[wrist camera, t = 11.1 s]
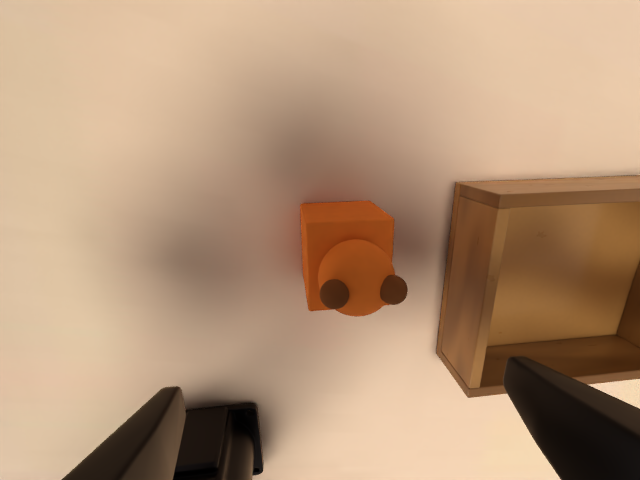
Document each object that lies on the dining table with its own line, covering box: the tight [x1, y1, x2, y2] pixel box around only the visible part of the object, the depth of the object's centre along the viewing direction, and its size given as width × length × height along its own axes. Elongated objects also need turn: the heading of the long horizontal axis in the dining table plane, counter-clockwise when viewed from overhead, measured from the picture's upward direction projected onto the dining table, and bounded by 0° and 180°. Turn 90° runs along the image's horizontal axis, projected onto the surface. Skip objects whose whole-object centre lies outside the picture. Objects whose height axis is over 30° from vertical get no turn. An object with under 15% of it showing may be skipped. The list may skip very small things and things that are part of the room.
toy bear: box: [300, 201, 408, 316], centre depth 16 cm, size 5×4×8 cm
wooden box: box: [436, 175, 640, 398], centre depth 20 cm, size 12×14×4 cm
